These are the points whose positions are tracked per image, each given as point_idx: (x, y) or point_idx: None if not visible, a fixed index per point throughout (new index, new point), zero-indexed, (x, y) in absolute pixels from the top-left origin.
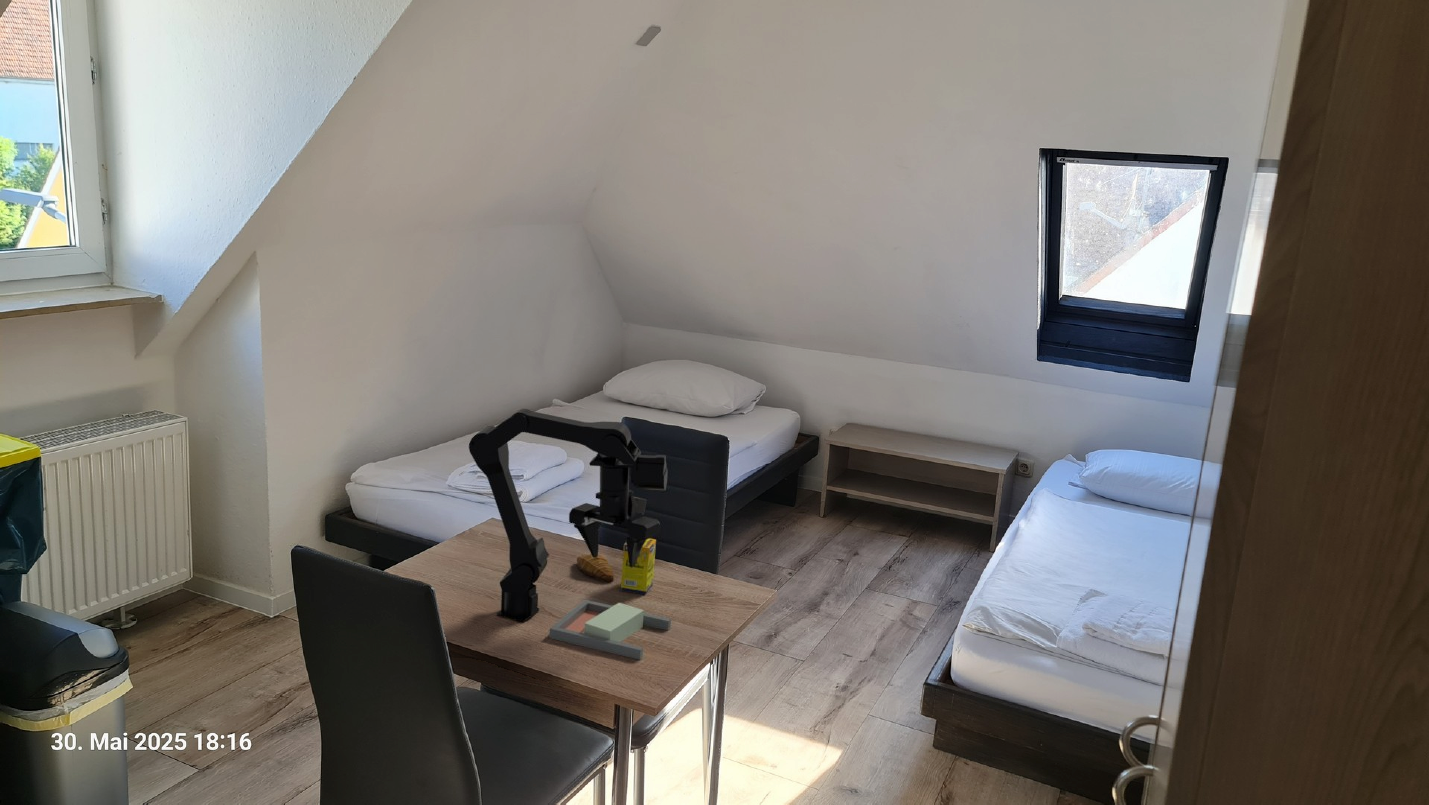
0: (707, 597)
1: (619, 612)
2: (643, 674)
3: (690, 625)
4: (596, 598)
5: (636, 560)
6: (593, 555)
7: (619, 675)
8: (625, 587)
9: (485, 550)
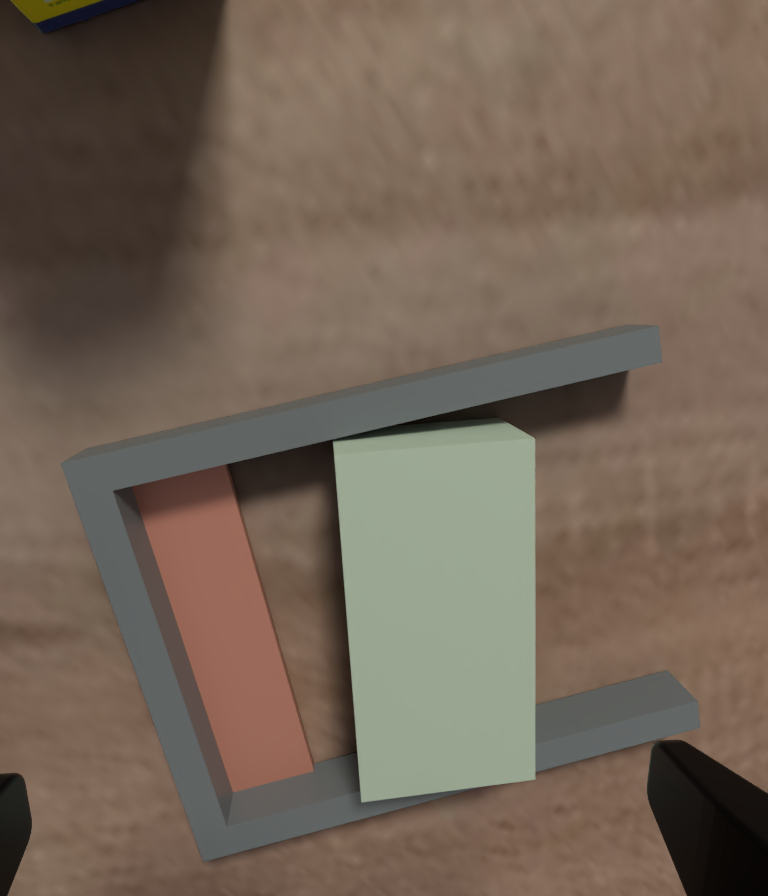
0: None
1: (430, 568)
2: (740, 771)
3: (702, 209)
4: (18, 271)
5: (761, 801)
6: (7, 885)
7: None
8: (64, 10)
9: None
